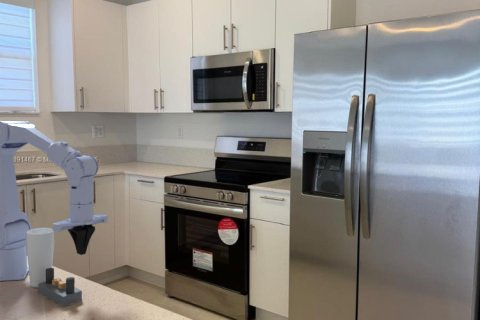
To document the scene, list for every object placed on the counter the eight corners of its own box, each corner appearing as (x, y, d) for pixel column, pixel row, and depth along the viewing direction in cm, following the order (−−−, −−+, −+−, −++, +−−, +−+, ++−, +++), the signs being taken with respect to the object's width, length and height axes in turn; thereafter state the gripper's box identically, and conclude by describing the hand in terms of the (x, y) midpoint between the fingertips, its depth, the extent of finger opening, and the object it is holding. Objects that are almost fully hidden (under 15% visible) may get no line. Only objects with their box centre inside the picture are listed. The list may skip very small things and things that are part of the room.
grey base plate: (38, 292, 110) (38, 283, 109) (56, 287, 114) (56, 278, 113) (63, 306, 102) (63, 296, 102) (81, 300, 106) (81, 290, 106)
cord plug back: (44, 282, 110) (44, 269, 110) (51, 280, 112) (51, 267, 112) (48, 284, 109) (48, 271, 109) (55, 282, 111) (55, 269, 110)
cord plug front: (63, 292, 104) (64, 278, 104) (70, 289, 106) (71, 276, 106) (69, 294, 103) (69, 280, 103) (76, 292, 105) (76, 278, 105)
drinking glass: (43, 290, 111) (43, 235, 109) (21, 287, 112) (20, 232, 111) (59, 281, 118) (59, 228, 116) (38, 278, 119) (37, 226, 117)
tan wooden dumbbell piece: (51, 284, 108) (51, 279, 108) (58, 282, 110) (58, 277, 110) (61, 288, 106) (61, 284, 105) (67, 286, 107) (67, 282, 107)
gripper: (63, 208, 101) (63, 264, 102) (114, 201, 112) (114, 250, 114) (48, 204, 105) (48, 257, 106) (99, 197, 116) (98, 245, 118)
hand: (81, 253), depth 110 cm, fingers closed
